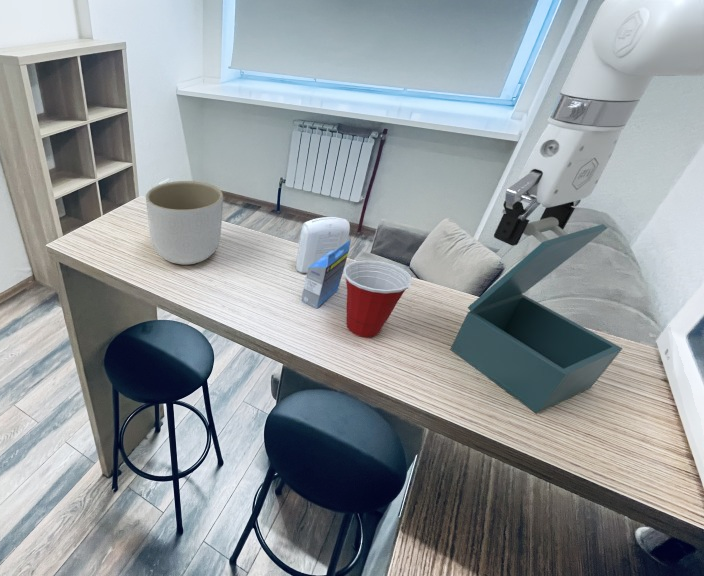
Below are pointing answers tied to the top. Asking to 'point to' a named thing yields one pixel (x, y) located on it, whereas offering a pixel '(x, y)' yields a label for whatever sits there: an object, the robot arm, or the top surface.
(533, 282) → the lid
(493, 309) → the chest
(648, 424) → the top surface
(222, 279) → the top surface
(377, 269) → the plastic cup
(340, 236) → the photo printer
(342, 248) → the label tape box
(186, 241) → the planter
